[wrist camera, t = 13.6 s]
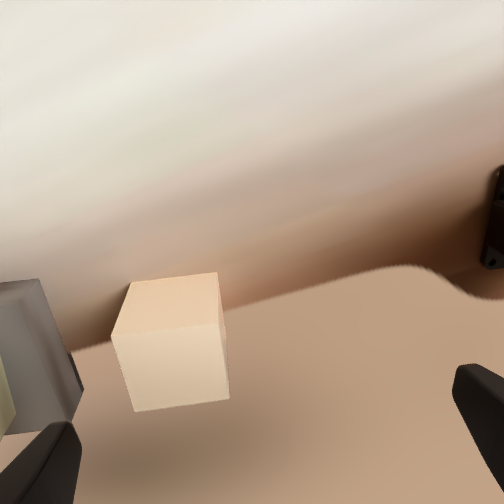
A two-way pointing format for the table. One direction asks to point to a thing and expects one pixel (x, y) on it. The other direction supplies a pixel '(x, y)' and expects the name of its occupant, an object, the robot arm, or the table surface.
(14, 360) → the slate slab
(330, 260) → the table surface
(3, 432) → the sage block
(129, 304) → the ivory cube
